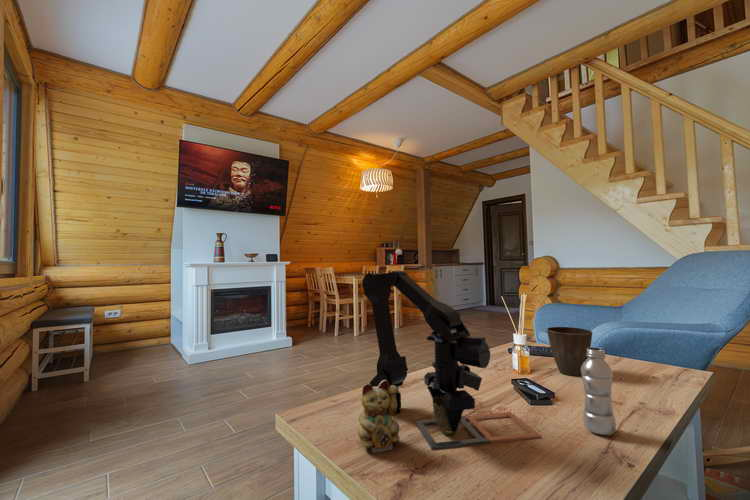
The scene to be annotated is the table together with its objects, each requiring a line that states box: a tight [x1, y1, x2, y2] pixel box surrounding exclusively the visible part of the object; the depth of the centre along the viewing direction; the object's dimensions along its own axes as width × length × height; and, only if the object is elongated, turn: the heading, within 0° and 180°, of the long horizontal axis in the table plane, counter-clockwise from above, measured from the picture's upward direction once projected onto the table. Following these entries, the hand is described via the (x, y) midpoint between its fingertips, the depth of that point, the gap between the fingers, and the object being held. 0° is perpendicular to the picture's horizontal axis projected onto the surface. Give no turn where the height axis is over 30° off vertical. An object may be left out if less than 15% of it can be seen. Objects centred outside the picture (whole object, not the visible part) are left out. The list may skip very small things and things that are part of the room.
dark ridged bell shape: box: [432, 395, 463, 436], centre depth 83 cm, size 8×7×8 cm
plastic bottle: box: [581, 347, 617, 436], centre depth 83 cm, size 6×7×20 cm
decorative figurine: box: [357, 380, 401, 454], centre depth 78 cm, size 10×8×15 cm
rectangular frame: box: [415, 411, 542, 451], centre depth 84 cm, size 27×13×1 cm, turn 99°
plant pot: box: [546, 326, 593, 377], centre depth 127 cm, size 15×15×16 cm
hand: (448, 424), depth 83 cm, fingers open, 7 cm apart
